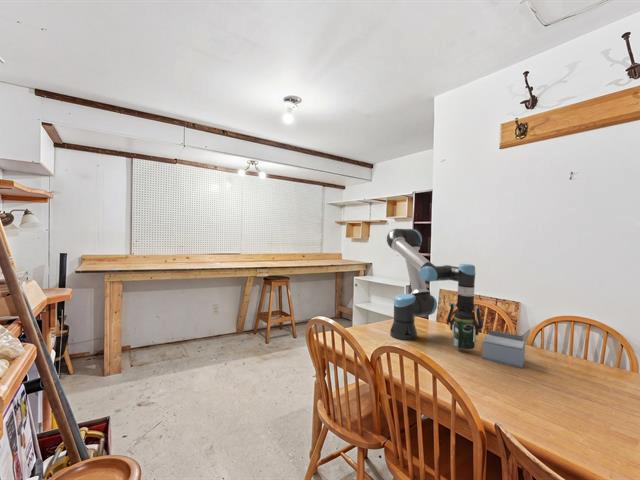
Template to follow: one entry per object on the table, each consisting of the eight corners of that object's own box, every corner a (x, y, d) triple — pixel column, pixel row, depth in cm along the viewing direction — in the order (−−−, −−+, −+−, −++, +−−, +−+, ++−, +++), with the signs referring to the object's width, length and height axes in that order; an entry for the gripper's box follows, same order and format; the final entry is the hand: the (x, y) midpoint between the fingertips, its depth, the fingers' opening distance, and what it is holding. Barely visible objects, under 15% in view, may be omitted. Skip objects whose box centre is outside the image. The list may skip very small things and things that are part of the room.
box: (481, 358, 146) (482, 342, 145) (486, 351, 155) (487, 335, 155) (522, 368, 136) (522, 350, 136) (524, 360, 145) (525, 343, 145)
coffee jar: (469, 344, 159) (470, 309, 159) (476, 350, 152) (478, 313, 151) (450, 343, 160) (452, 308, 159) (457, 349, 152) (458, 312, 151)
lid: (483, 341, 146) (483, 335, 146) (487, 335, 155) (487, 329, 155) (522, 349, 136) (522, 342, 136) (524, 342, 145) (524, 336, 145)
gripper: (441, 292, 158) (439, 335, 159) (488, 299, 145) (486, 346, 146) (445, 290, 164) (443, 332, 165) (491, 297, 151) (489, 342, 152)
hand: (463, 338), depth 155 cm, fingers closed on coffee jar, 9 cm apart
